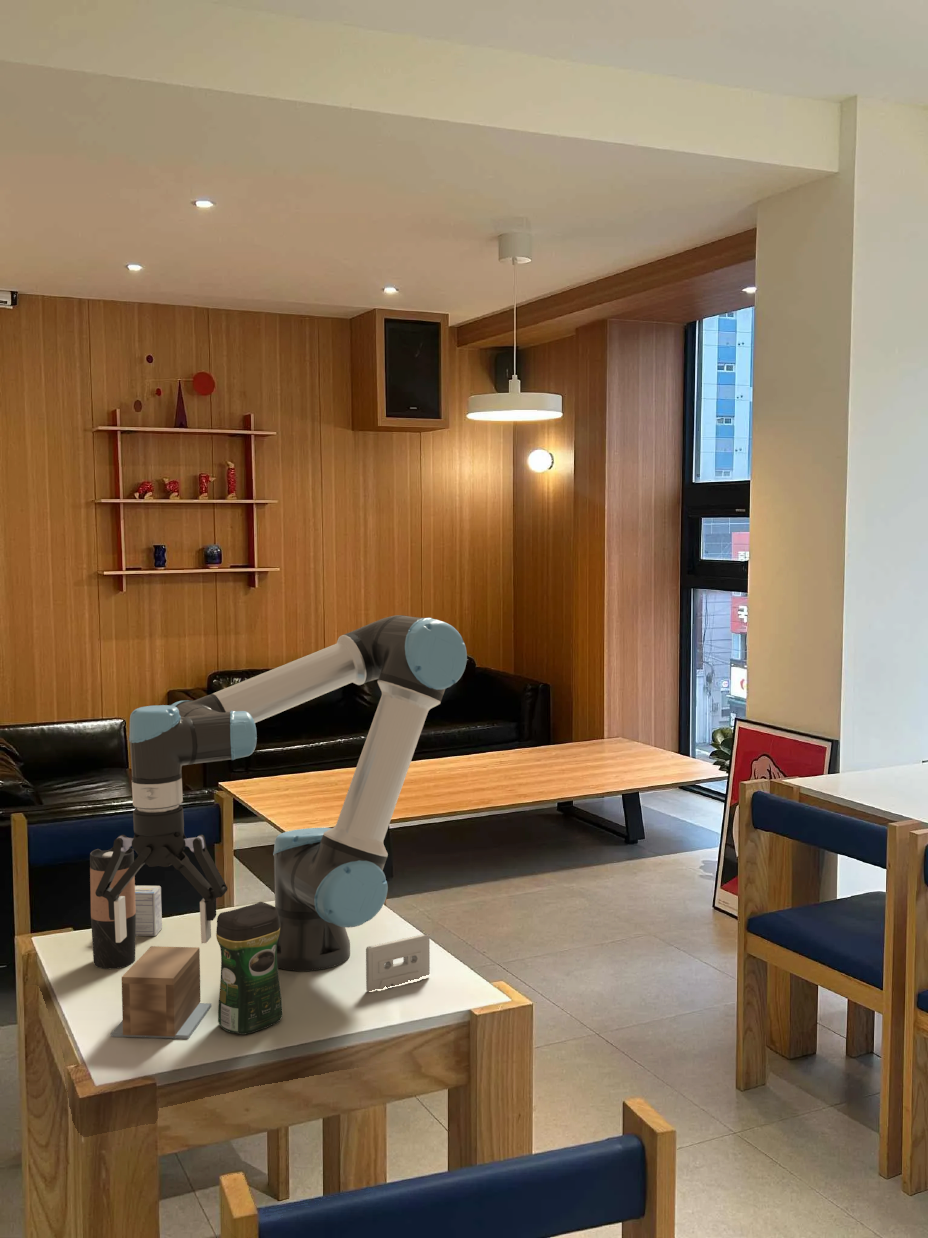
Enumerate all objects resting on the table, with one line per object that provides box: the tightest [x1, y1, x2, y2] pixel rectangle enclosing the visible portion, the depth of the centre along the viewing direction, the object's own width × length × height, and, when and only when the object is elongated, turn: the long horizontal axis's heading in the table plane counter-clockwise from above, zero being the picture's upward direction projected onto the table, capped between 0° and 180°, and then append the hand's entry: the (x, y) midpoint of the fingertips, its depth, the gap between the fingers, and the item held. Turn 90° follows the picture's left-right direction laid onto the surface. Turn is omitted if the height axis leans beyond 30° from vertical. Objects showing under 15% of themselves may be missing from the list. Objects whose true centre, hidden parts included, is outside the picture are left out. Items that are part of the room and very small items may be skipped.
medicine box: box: [135, 885, 163, 937], centre depth 221 cm, size 8×4×9 cm, turn 88°
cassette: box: [365, 933, 431, 992], centre depth 195 cm, size 12×2×8 cm, turn 123°
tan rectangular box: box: [121, 945, 202, 1036], centre depth 180 cm, size 8×13×9 cm, turn 176°
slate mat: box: [110, 1002, 212, 1040], centre depth 181 cm, size 12×12×1 cm
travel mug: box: [89, 846, 137, 970], centre depth 205 cm, size 8×8×20 cm
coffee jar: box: [215, 901, 283, 1035], centre depth 179 cm, size 10×8×19 cm
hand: (163, 940), depth 180 cm, fingers open, 13 cm apart
